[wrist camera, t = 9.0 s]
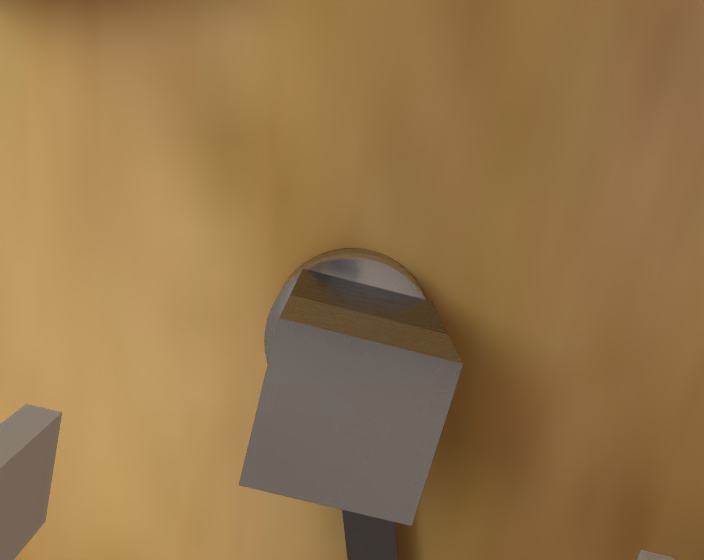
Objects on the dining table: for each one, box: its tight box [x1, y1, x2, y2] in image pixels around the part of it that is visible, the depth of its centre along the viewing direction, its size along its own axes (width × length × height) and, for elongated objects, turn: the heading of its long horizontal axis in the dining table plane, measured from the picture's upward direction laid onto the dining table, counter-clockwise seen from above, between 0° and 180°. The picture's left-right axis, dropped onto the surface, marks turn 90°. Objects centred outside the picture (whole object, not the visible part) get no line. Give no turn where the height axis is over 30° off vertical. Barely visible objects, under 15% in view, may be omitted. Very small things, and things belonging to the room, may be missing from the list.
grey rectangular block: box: [239, 268, 463, 526], centre depth 22 cm, size 6×6×8 cm
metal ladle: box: [264, 248, 426, 560], centre depth 28 cm, size 20×8×6 cm, turn 5°
